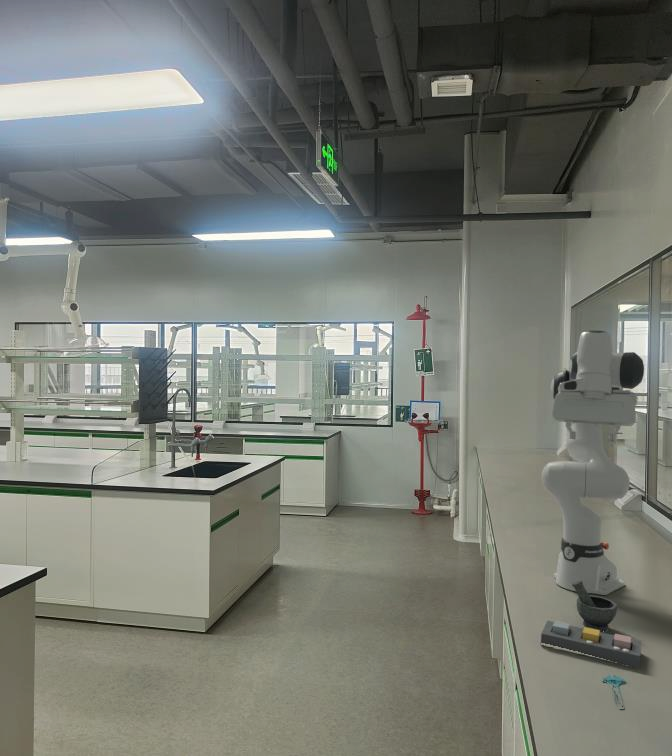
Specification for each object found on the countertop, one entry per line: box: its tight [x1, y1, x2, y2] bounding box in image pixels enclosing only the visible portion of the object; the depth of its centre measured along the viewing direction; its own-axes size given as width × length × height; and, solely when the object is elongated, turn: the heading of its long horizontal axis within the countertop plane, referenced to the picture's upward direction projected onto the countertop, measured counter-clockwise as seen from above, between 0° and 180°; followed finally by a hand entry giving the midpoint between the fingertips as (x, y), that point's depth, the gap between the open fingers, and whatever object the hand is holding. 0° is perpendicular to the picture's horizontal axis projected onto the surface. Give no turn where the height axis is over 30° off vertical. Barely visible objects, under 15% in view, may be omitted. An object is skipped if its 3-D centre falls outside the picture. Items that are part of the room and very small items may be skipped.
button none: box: [552, 620, 571, 636], centre depth 158 cm, size 4×4×2 cm
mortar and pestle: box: [572, 580, 618, 633], centre depth 167 cm, size 11×9×12 cm
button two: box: [614, 633, 632, 650], centre depth 151 cm, size 4×4×2 cm
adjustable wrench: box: [602, 674, 627, 699], centre depth 134 cm, size 14×1×5 cm
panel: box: [540, 620, 642, 669], centre depth 154 cm, size 22×9×3 cm, turn 62°
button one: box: [582, 626, 600, 643], centre depth 154 cm, size 4×4×2 cm
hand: (592, 440), depth 162 cm, fingers open, 8 cm apart
